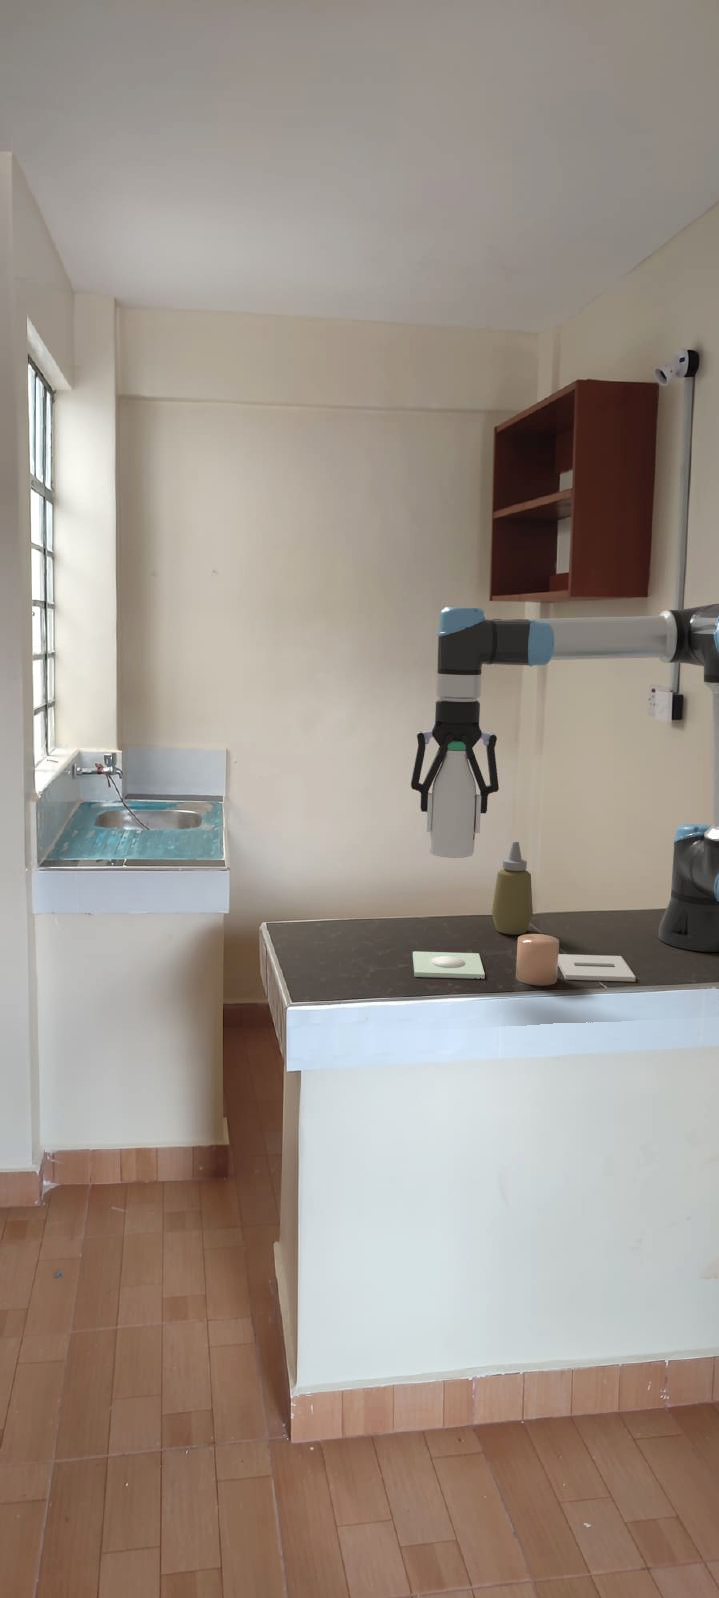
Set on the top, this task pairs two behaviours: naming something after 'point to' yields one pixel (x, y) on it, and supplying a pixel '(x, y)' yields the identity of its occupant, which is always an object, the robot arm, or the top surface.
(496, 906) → the squeeze bottle
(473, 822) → the milk bottle
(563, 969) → the tile
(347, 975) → the top surface
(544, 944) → the rounded peach cylinder
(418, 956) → the tile
